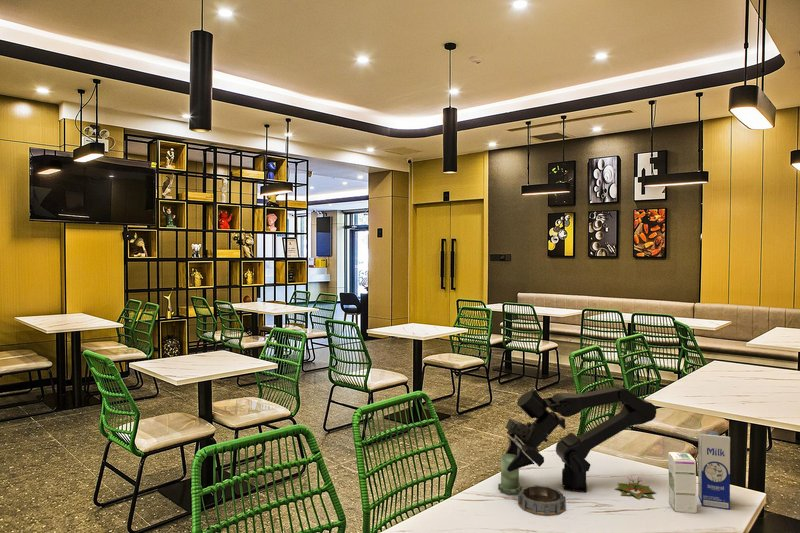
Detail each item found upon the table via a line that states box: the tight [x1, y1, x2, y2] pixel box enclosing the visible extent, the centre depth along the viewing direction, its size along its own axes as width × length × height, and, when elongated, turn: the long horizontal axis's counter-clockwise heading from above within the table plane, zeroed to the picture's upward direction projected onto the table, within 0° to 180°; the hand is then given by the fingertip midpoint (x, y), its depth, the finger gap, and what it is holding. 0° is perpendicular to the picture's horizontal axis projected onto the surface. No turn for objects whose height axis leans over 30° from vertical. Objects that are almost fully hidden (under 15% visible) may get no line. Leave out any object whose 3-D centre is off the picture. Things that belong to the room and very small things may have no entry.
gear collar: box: [517, 484, 567, 517], centre depth 151 cm, size 13×13×3 cm
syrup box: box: [667, 451, 698, 514], centre depth 148 cm, size 6×6×14 cm
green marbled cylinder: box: [497, 453, 523, 496], centre depth 160 cm, size 7×7×10 cm
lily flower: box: [615, 476, 656, 501], centre depth 159 cm, size 12×12×5 cm
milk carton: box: [697, 430, 731, 510], centre depth 151 cm, size 7×7×20 cm
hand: (505, 466), depth 160 cm, fingers closed on green marbled cylinder, 5 cm apart
